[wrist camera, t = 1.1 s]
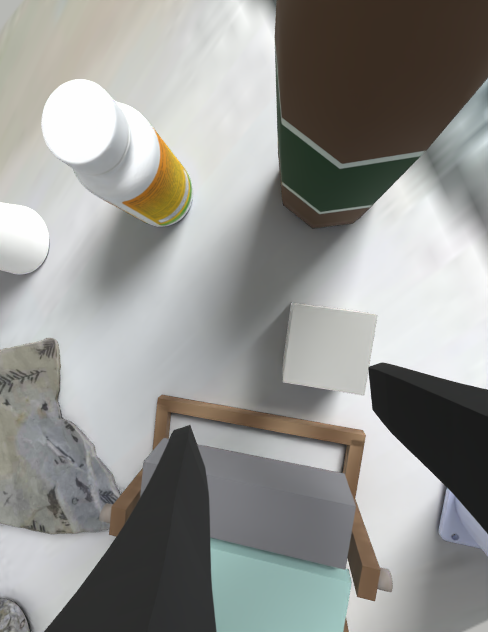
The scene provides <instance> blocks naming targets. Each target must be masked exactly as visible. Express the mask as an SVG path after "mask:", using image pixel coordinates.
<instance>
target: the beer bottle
mask: <svg viewBox="0 0 488 632" xmlns="http://www.w3.org/2000/svg"><path fill="white" fill-rule="evenodd" d="M275 63H276V97H277V131H278V158H279V169H280V181H281V192H282V201H283V205H284V206H285V207H286V208H288V209H289V210H290V211H291V212H293V213H294V214H295V215H296V216H298V217H299V218H300V219H301V220H303V221H304V222H305V223H306V224H308V225H309V226H310V227H311V228H321V227H329V226H336V225H344V224H352V223H354V222H355V221H356V220H358V219H359V218H360V217H361V216H362V215H363V214H364V213H365V212H366V211H367V210H368V209H369V208H370V207H371V206H372V205H373V204H374V203H375V202H376V201H377V200H378V199H379V198H380V197H381V196H382V195H383V194H384V193H385V192H386V191H387V190H388V189H389V188H390V187H391V186H392V185H393V184H394V183H395V182H396V181H397V180H398V179H399V178H400V177H401V176H402V175H403V174H404V173H405V172H406V171H407V170H408V169H409V168H410V166H411V165H412V164H413V163H414V162H415V161H416V160H417V159H418V158H419V157H420V156H421V155H422V154H423V153H424V152H425V151H426V150H427V149H428V148H429V147H430V145H431V144H432V143H433V142H434V141H435V140H436V138H437V137H438V136H439V135H440V134H441V133H442V131H443V130H444V129H445V128H446V127H447V125H448V124H449V123H450V122H451V121H452V120H453V118H454V117H455V116H456V115H457V114H458V113H459V111H460V110H461V109H462V108H463V107H464V105H465V104H466V103H467V102H468V101H469V100H470V98H471V97H472V96H473V95H474V94H475V93H476V91H477V90H478V89H479V88H480V87H481V85H482V84H483V83H484V82H485V81H486V80H487V78H488V0H277V3H276V23H275Z"/></svg>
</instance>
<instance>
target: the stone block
mask: <svg viewBox="0 0 488 632" xmlns="http://www.w3.org/2000/svg"><path fill="white" fill-rule="evenodd" d="M376 321H377V315H376V314H371V313H365V312H360V311H354V310H346V309H338V308H330V307H322V306H314V305H306V304H298V303H291V307H290V314H289V321H288V328H287V336H286V343H285V350H284V358H283V382H284V383H290V384H296V385H302V386H309V387H315V388H321V389H327V390H333V391H339V392H346V393H352V394H358V395H364V394H365V388H366V382H367V376H368V367H369V364H370V358H371V352H372V346H373V339H374V333H375V327H376Z"/></svg>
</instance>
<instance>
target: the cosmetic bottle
mask: <svg viewBox="0 0 488 632" xmlns="http://www.w3.org/2000/svg"><path fill="white" fill-rule="evenodd" d="M48 250H49V233H48V229H47V227H46V224H45V223H44V221H43V219H42V218H41V217H40V216H39V215H38V214H37V213H36V212H35V211H34V210H32V209H30V208H28V207H25V206H21V205H14V204H8V203H2V202H0V270H2V271H5V272H9V273H13V274H27V273H30V272H32V271H34V270H36V269H37V268H38V267H39V266H40V265H41V264H42V263H43V261H44V260H45V258H46V256H47V253H48Z"/></svg>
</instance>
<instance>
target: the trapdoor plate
mask: <svg viewBox="0 0 488 632" xmlns="http://www.w3.org/2000/svg"><path fill="white" fill-rule="evenodd" d="M168 441H169V439H167V438H163V439H162V440H161V442H160V443H159V444H158V445H157V446H156V447H155V449H154V450H153V451H152V452H151V453H150V455H149V456H148V457H147V458H146V459H145V461H144V463H143V474H142V484H141V494H140V497H141V495H142V493H143V492H144V490H145V488H146V486H147V484H148V483H149V481H150V479H151V477H152V475H153V473H154V471H155V469H156V467H157V465H158V463H159V461H160V458H161V456H162V454H163V452H164V450H165V448H166V445H167V443H168ZM197 446H198V448H199V451H200V454H201V457H202V459H203V462H204V465H205V468H206V476H207V483H208V491H209V506H210V547H211V578H212V593H213V602H214V612H215V622H216V631H217V632H343V630H344V624H345V618H346V613H347V607H348V601H349V595H350V589H351V583H352V582H351V578H350V574H349V570H348V569H346V563H347V557H348V551H349V545H350V539H351V533H352V527H353V521H354V515H355V509H356V505H355V502H354V499H353V496H352V494H351V491H350V488H349V485H348V482H347V479H346V476H345V474H344V473H339V472H334V471H329V470H324V469H319V468H314V467H309V466H304V465H299V464H294V463H289V462H284V461H279V460H274V459H269V458H264V457H258V456H253V455H248V454H243V453H238V452H233V451H228V450H223V449H218V448H213V447H208V446H203V445H198V444H197Z"/></svg>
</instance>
